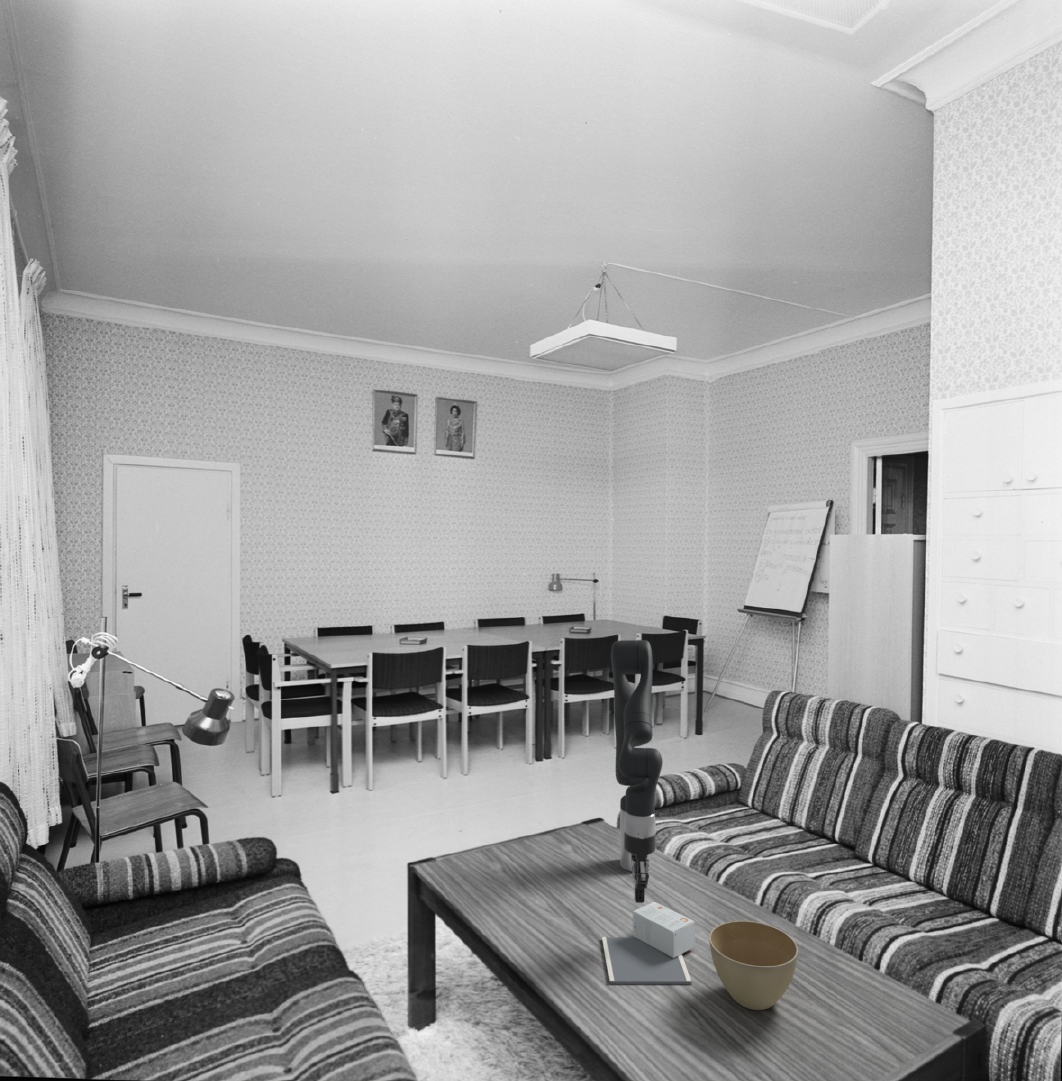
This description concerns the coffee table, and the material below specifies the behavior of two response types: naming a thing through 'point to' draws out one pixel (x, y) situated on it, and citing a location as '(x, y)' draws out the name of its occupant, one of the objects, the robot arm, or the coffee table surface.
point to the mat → (641, 963)
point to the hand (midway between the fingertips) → (639, 901)
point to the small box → (664, 929)
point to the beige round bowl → (753, 962)
